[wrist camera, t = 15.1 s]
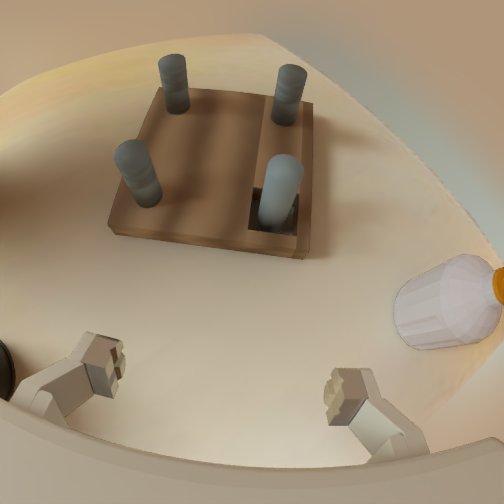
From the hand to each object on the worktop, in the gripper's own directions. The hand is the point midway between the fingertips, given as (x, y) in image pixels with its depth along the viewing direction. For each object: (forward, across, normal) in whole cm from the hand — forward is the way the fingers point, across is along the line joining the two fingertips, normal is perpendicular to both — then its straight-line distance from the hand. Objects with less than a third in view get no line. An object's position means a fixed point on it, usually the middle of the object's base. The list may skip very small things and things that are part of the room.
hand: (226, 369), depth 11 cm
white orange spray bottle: (+19, -23, +10) cm, 32 cm away
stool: (+31, +4, -1) cm, 31 cm away
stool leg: (+26, -3, +4) cm, 27 cm away
